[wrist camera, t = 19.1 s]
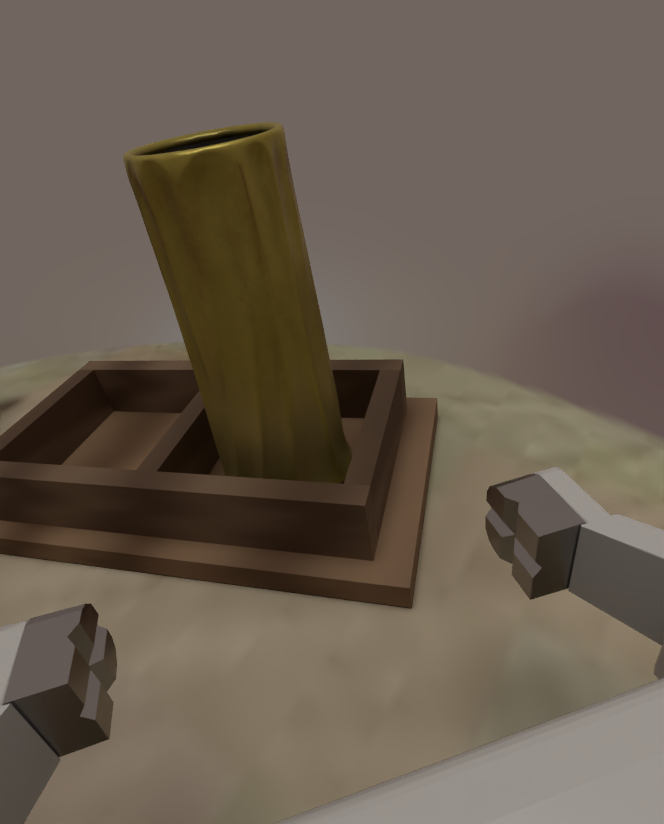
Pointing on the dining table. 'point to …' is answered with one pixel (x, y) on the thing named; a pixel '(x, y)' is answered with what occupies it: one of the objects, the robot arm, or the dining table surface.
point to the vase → (244, 298)
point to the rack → (217, 486)
